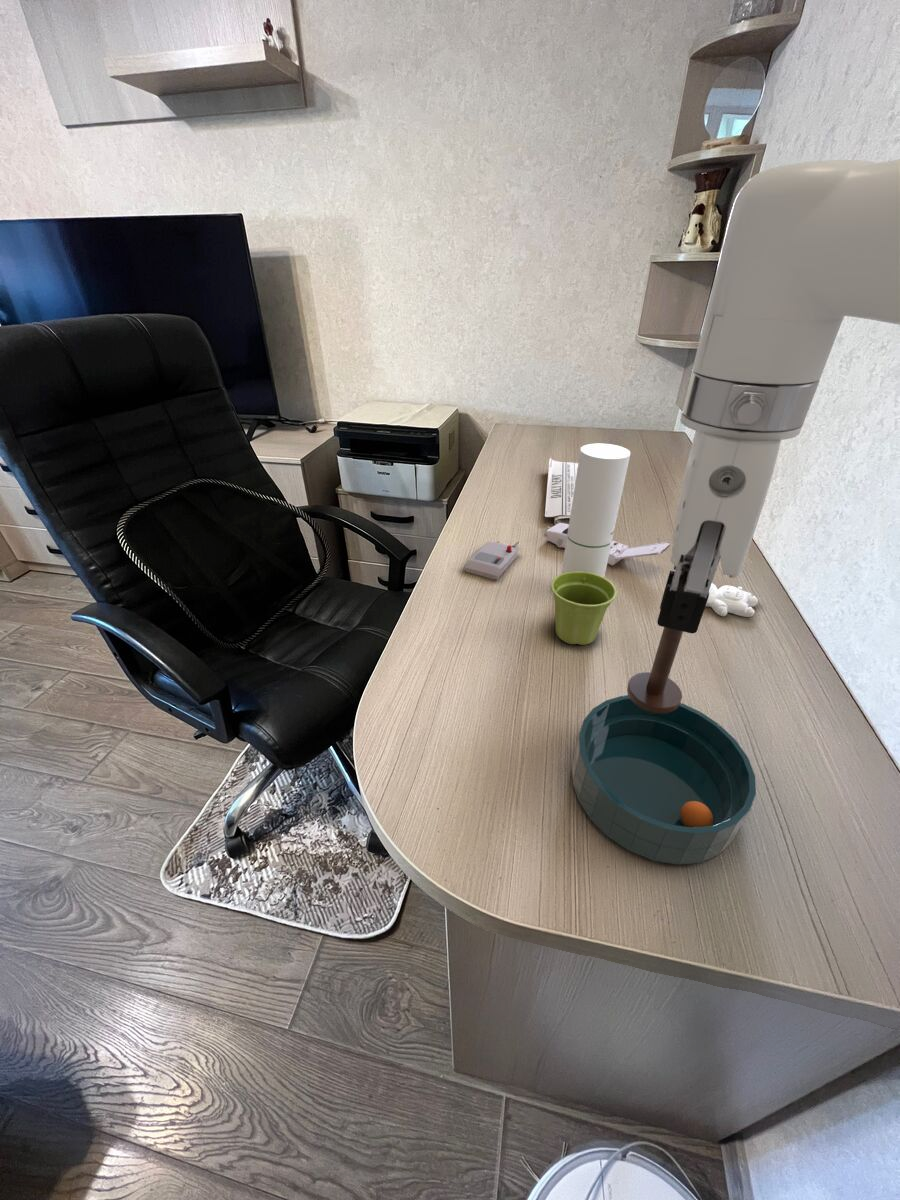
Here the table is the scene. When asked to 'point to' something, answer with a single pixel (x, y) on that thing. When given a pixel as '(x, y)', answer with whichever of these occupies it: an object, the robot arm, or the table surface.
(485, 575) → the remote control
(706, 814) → the ball
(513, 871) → the table surface
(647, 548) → the mobile phone
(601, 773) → the bowl
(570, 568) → the cylindrical container
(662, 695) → the stirring stick
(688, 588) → the robot arm
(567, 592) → the plant pot
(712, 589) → the white toy figurine
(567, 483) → the newspaper
